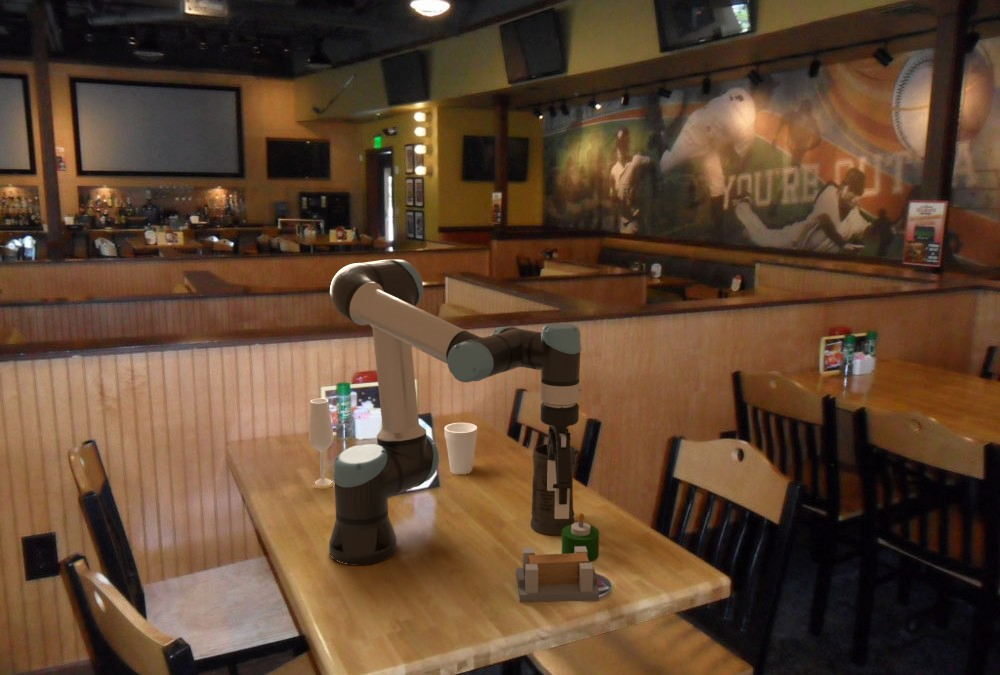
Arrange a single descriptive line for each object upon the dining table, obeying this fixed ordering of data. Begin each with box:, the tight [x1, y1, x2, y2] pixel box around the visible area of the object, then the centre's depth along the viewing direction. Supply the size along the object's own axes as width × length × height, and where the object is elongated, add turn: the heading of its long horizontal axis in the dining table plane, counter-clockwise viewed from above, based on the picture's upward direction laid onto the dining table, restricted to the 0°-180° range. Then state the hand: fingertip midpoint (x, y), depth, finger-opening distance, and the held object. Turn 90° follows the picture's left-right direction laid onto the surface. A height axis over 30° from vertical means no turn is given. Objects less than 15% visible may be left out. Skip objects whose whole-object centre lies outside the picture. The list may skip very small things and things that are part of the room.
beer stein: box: [530, 443, 576, 536], centre depth 188 cm, size 15×11×20 cm
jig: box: [515, 546, 600, 603], centre depth 159 cm, size 16×11×6 cm
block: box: [528, 553, 590, 586], centre depth 159 cm, size 12×4×5 cm, turn 96°
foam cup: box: [444, 422, 478, 475], centre depth 222 cm, size 10×9×13 cm
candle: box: [561, 512, 600, 563], centre depth 173 cm, size 8×8×10 cm
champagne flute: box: [308, 397, 335, 486], centre depth 211 cm, size 7×7×24 cm
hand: (557, 503), depth 156 cm, fingers open, 13 cm apart
